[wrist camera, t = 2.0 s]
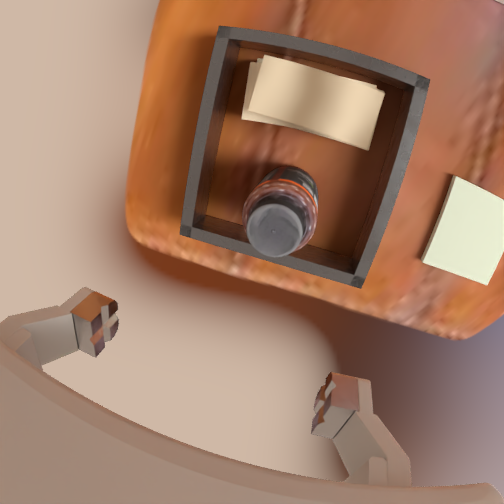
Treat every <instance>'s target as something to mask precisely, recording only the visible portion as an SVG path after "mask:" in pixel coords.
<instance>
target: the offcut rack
mask: <svg viewBox="0 0 504 504" xmlns="http://www.w3.org/2000/svg"><path fill="white" fill-rule="evenodd" d="M240 47H241V48H248V49H254V50H260V51H266V52H272V53H277V54H282V55H287V56H292V57H297V58H301V59H305V60H310V61H314V62H318V63H322V64H326V65H329V66H333V67H337V68H340V69H344V70H347V71H350V72H354V73H357V74H360V75H363V76H366V77H369V78H372V79H375V80H378V81H381V82H384V83H387V84H389V85H392V86H395V87H397V88H400V89H402V90H404V93H403V97H402V101H401V105H400V109H399V113H398V116H397V120H396V124H395V128H394V131H393V135H392V138H391V142H390V145H389V149H388V152H387V156H386V159H385V162H384V166H383V169H382V172H381V175H380V178H379V181H378V185H377V188H376V191H375V194H374V197H373V200H372V203H371V206H370V209H369V211H368V214H367V217H366V220H365V223H364V226H363V228H362V231H361V234H360V237H359V239H358V242H357V245H356V247H355V250H354V253H353V255H352V258H350V257H347V256H344V255H341V254H337V253H334V252H331V251H328V250H324V249H321V248H318V247H314V246H311V245H308V244H305V245H304V246H303V247H302V248H300V249H298V250H297V251H294V252H292V253H290V254H288V255H286V256H282V257H269V256H265V255H263V254H261V253H260V252H258V251H257V250H256V249H255V248H253V246H252V245H251V244H250V242H249V240H248V237H247V233H246V232H245V229H244V226H243V225H239V224H236V223H232V222H229V221H225V220H222V219H218V218H214V217H211V216H207V215H206V210H207V204H208V198H209V193H210V187H211V182H212V176H213V171H214V166H215V160H216V155H217V150H218V145H219V140H220V135H221V130H222V125H223V121H224V116H225V111H226V107H227V102H228V97H229V93H230V88H231V84H232V80H233V75H234V71H235V67H236V63H237V58H238V54H239V50H240ZM429 83H430V79H428V78H425V77H423V76H421V75H418V74H416V73H413V72H411V71H408V70H406V69H403V68H401V67H398V66H396V65H393V64H390V63H387V62H385V61H382V60H379V59H376V58H373V57H370V56H367V55H364V54H361V53H357V52H354V51H351V50H347V49H344V48H340V47H336V46H333V45H329V44H325V43H321V42H317V41H313V40H308V39H304V38H299V37H294V36H289V35H284V34H278V33H272V32H266V31H260V30H253V29H245V28H237V27H227V26H219V28H218V32H217V36H216V40H215V44H214V48H213V52H212V56H211V61H210V65H209V69H208V74H207V78H206V83H205V87H204V92H203V97H202V102H201V107H200V112H199V117H198V122H197V127H196V132H195V138H194V143H193V149H192V155H191V161H190V167H189V173H188V179H187V185H186V192H185V198H184V205H183V212H182V220H181V227H180V235H183V236H186V237H189V238H193V239H196V240H199V241H203V242H206V243H209V244H213V245H216V246H219V247H223V248H226V249H229V250H233V251H236V252H239V253H243V254H246V255H249V256H253V257H256V258H259V259H263V260H266V261H270V262H273V263H276V264H280V265H283V266H286V267H290V268H293V269H296V270H300V271H303V272H306V273H310V274H313V275H317V276H320V277H323V278H327V279H330V280H333V281H337V282H340V283H344V284H347V285H350V286H354V287H357V288H362V285H363V283H364V281H365V278H366V276H367V274H368V271H369V269H370V267H371V264H372V262H373V259H374V257H375V254H376V252H377V249H378V247H379V244H380V242H381V239H382V237H383V234H384V231H385V229H386V226H387V224H388V221H389V218H390V215H391V213H392V210H393V207H394V204H395V201H396V198H397V196H398V193H399V190H400V187H401V184H402V181H403V178H404V175H405V171H406V168H407V165H408V162H409V159H410V155H411V152H412V149H413V145H414V142H415V138H416V135H417V131H418V127H419V124H420V120H421V116H422V112H423V108H424V104H425V100H426V96H427V91H428V87H429Z"/></svg>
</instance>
